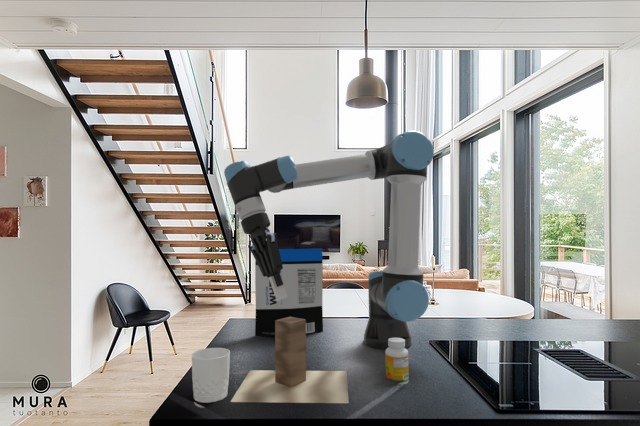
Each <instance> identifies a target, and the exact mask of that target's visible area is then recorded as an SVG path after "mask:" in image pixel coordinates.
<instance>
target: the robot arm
mask: <svg viewBox="0 0 640 426" xmlns="http://www.w3.org/2000/svg"><path fill="white" fill-rule="evenodd" d="M432 143H433V142H432V141H431V140H430V139H429V137H427V136H426V134H424V133H422V132H421V131H417V130H407V131H404V132H402V133H399V134H398V135H396V136H395V138H394V139H392V140H391V141H389V142H388V143H387V144H385V145H383V146H381V147H378V148H375V149H371V150H367V151H366V152H365V153H364V154H360V155H359V154H357V155H353V156H352V155H351V156H346V157H345V156H344V157H339V158H331V159H330V158H329V159H324V160H317V161H311V162H305V163H304V162H303V163H296V164H295V161H294V158H293V157H292V156H291V155H285V156H280V157H277V158H274V159H272V160H268V161H265V162H262V163H259V164H257V165H253V166H251V164H250V163H249V162H248V161H246V160H241V161H236V162H233V163H232V162H231V163H230V164H228V165H227V166H226V167H225V169H224V171H223V173H224V177H225V181H226V185H227V188H228V190H229V193H230V195H231V199H232V201H233V204H234V206H235V212H236V213H237V215H238V218H239V220H240V224H241V227H242V232H243V233H244V234H246V235H249V237H250V242H251V245H250V246H249V247H248V251H250V253H251V254H252V256H253V258H254V260H256V262H257V264H258V266H259V268H260V270H261V273H262V275H263V276H264V277H265V276H267V278H269V280H270V283H271V286H272V289H273V291H274V294H275V297H276V300H277V301H279V300H281V299H284V298H286V297H288V296H287V293H286V290H285V287H284V284H283V281H282V278H281V276H280V272H281V271H280V270H281V269H283V266H282V261H281V257H280V252H279V249H280V247H279V245H278V234H277V232H273V233H272V232H271V231H270V230H271V229H270V228H269V227H270V226H271V220H270V218H269V215H268V213H267V212H266V210H267V209H266V207H265V205H264V201H263V198H262V196H261V194H260V193H262V192H265V191H268V192H270V193H274V194H275V193H277V194H278V193H280V192H282V191H288V190H293V189H297V188H298V189H301V188H306V187H307V188H308V187H313V186H319V185H326V184H332V183H339V182H346V181H352V180H358V179H369V180H371V181H373V180H374V181H375V180H379V179H380V180H382V179H386V180H387V181H388V182H389V183H390V184H391V186H390V187H391V189H390V208H389V209H390V211H389V229H388V230H389V231H388V233H389V234H388V260H387V262H388V263H387V266H386V267H385V268H384V269H382V270H378V271H377V270H375V271H371V272H370V273H369V274H368V279H367V284H368V286H367V287H368V320H367V324H366V326H365V327H366V328H365V330H364V334H363V343H364V345H366V346H368V347H370V348H373V349H379V350H380V349H381V350H386V349H387V348H388V347H389V346H388V339H389V338H402V339H404V340H405V347H404V348H405V349H408V348H409V347H411V346H412V344H413V343H412V335H411V332H410V329H409V325H408V323H409V322H414V321H417V320H418V319H420V318H421V317H422V316H423V315H424V314H425V313H426V311H427V310H428V306H429V303H430V299H429V293H428V291H427V289H426V287H425V286H424V272H423V271H422V270H421V269H420V267H419V254H420V253H419V252H420V251H419V250H420V248H419V247H420V222H421V221H420V220H421V194H422V191H421V190H422V185H423V183H425V181H427V180H428V179H427V177H428V176H427V175H428V167H429V165H430V164H431V163H432V161H433V158H434V153H435V150H434V145H433V144H432ZM407 322H408V323H407Z"/></svg>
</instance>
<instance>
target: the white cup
mask: <svg viewBox="0 0 640 426" xmlns="http://www.w3.org/2000/svg"><path fill="white" fill-rule="evenodd" d="M230 363H231V351H230V349H228V348H225V347H206V348H202V349H199V350H196V351H194V352H192V354H191V372H192V373H191V378H192V391H193V399H194V402H193V404H194V405H195V406H196V407H197V408H200V409H203V408H204V409H206V407H205V406H203V405H201V404H198V403H207V404H208V403H215V402H218V401H221V400H224V399H225V398H226V397H227V396H228V392H229V390H228V389H229V380H230V366H231V364H230ZM195 401H196V402H195ZM197 402H198V403H197Z"/></svg>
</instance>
